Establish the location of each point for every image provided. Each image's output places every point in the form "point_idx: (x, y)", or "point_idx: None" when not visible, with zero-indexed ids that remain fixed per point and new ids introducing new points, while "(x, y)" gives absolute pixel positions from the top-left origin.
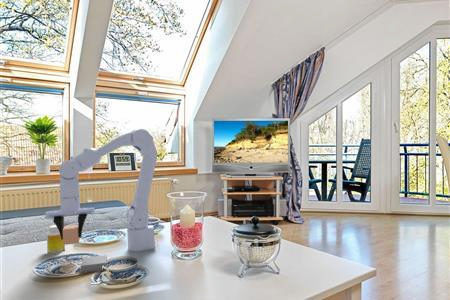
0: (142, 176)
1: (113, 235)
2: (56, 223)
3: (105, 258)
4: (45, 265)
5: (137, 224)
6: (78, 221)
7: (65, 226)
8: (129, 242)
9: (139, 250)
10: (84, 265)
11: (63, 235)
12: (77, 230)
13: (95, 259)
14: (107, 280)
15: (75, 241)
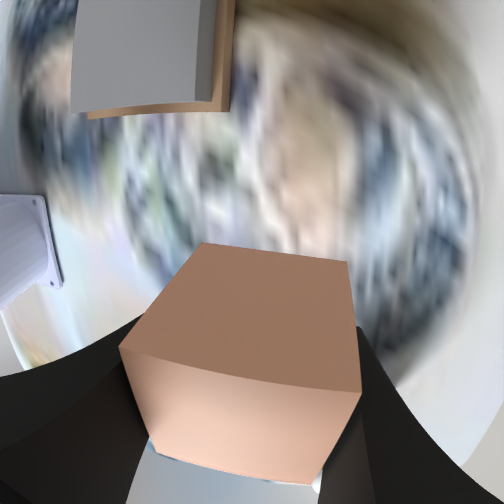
0: None
1: None
2: (465, 495)
3: (76, 53)
4: (423, 270)
5: None
6: (46, 419)
7: (302, 477)
8: (6, 242)
9: (6, 204)
10: None
11: (346, 322)
12: (142, 324)
13: (121, 44)
14: None
15: (221, 254)
